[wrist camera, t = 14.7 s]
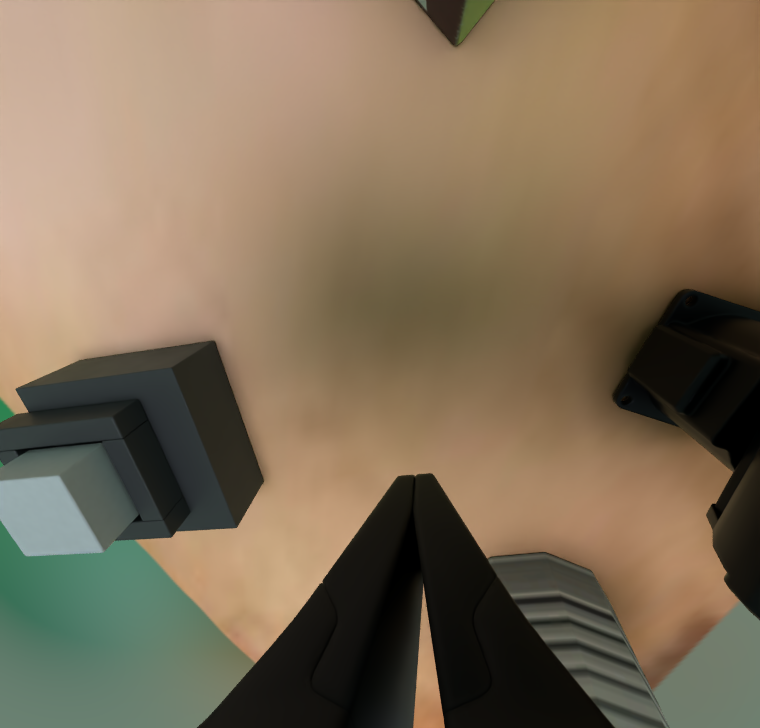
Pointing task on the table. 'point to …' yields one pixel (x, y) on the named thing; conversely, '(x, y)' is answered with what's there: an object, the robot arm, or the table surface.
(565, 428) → the table surface
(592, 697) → the can
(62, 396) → the stepped grey pedestal
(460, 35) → the protein box
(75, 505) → the pad
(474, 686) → the robot arm
